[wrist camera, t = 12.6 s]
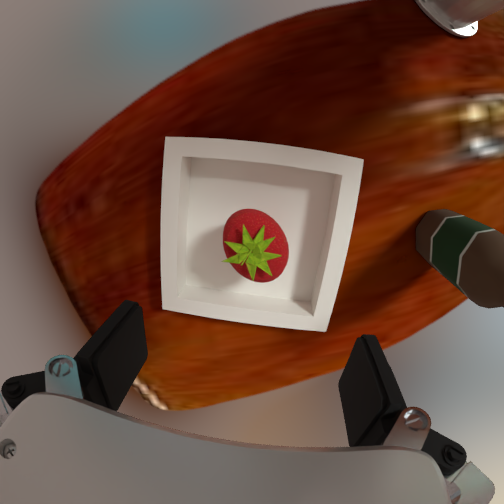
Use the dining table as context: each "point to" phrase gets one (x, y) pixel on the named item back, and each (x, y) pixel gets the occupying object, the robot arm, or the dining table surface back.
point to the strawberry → (255, 245)
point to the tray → (270, 202)
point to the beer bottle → (464, 254)
